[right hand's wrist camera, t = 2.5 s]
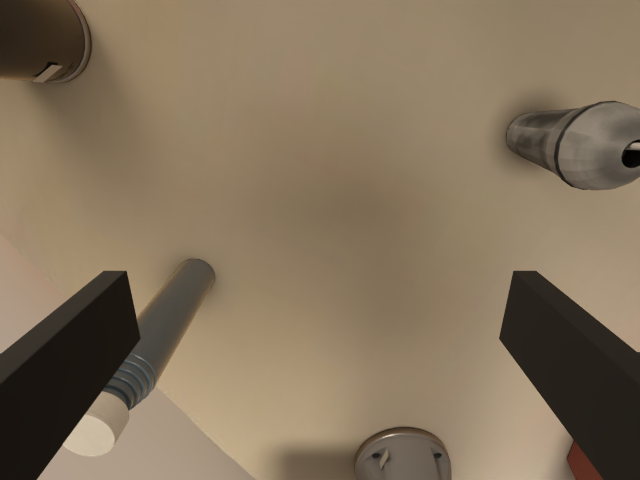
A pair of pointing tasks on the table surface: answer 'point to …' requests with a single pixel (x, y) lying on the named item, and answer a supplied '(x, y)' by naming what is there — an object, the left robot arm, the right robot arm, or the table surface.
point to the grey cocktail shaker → (582, 143)
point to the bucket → (581, 465)
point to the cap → (99, 426)
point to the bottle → (161, 331)
